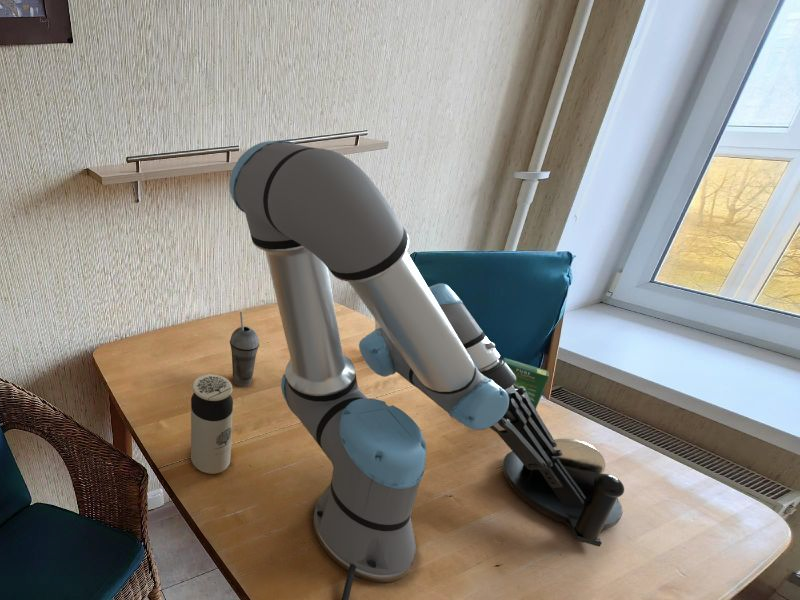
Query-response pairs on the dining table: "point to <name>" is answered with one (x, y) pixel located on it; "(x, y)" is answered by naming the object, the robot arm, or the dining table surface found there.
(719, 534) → the dining table surface
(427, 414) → the dining table surface
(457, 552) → the dining table surface
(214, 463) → the travel mug
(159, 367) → the dining table surface
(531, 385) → the coffee box
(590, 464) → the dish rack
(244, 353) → the beverage cup
